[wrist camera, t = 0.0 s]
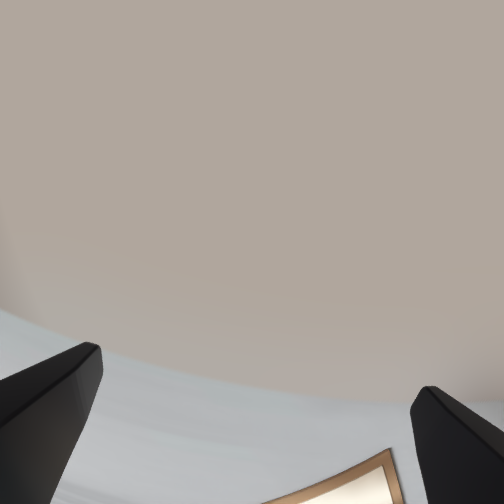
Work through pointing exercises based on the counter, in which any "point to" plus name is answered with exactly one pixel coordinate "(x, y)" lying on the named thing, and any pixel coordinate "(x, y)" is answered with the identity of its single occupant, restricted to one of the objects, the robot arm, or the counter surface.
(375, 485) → the clipboard
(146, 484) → the counter surface
